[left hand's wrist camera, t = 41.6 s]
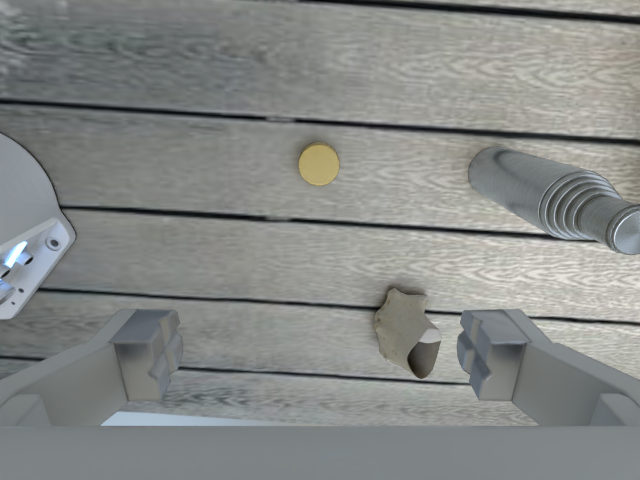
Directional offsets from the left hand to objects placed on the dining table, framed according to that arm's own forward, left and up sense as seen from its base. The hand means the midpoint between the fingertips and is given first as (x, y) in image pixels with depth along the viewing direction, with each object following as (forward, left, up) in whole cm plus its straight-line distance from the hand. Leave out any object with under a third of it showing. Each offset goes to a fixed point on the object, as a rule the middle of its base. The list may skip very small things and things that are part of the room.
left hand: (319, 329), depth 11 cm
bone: (-11, -18, -29) cm, 36 cm away
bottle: (+9, -16, -29) cm, 34 cm away
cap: (0, 0, -27) cm, 27 cm away
